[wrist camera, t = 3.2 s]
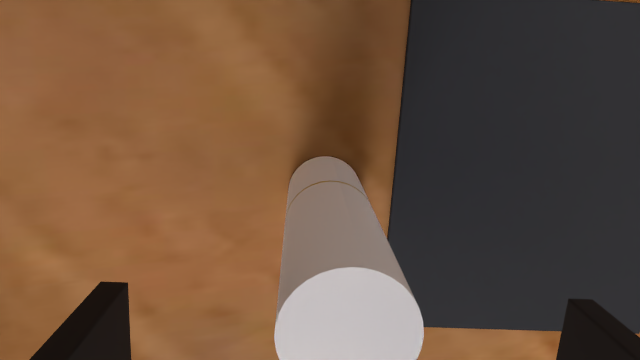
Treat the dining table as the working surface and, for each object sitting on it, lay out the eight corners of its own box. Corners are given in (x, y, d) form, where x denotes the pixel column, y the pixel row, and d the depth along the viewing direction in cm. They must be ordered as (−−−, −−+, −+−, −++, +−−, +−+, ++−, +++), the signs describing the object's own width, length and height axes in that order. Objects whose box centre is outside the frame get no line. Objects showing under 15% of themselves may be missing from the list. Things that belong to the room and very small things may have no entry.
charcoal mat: (411, -12, 26) (413, -13, 25) (715, 9, 26) (721, 8, 26) (378, 322, 30) (379, 326, 30) (635, 330, 31) (639, 333, 31)
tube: (294, 150, 27) (288, 255, 13) (367, 163, 28) (440, 280, 13) (282, 219, 28) (263, 389, 14) (352, 231, 29) (404, 408, 14)
